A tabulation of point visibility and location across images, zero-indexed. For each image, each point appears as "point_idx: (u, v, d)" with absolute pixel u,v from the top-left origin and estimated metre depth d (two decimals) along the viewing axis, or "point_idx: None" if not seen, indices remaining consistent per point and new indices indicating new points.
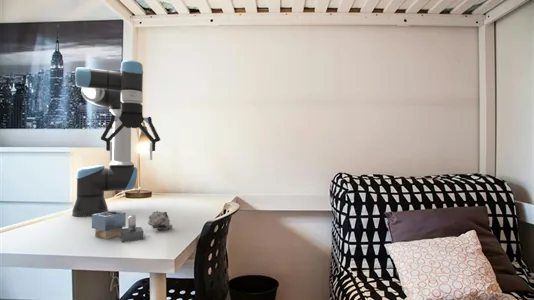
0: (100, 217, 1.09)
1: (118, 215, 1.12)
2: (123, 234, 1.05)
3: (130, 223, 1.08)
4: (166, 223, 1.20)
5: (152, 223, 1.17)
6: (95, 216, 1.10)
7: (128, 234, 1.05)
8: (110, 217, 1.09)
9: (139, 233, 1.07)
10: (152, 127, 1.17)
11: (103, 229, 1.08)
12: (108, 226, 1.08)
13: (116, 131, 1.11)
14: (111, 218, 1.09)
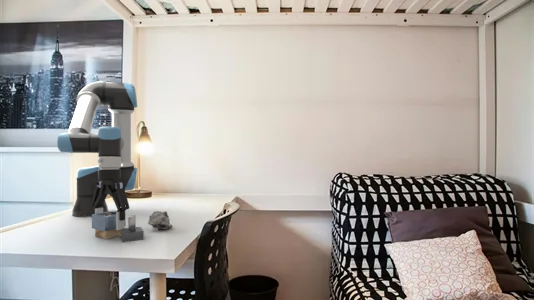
0: (100, 217, 1.09)
1: None
2: (123, 234, 1.05)
3: (130, 223, 1.08)
4: (166, 223, 1.20)
5: (152, 223, 1.18)
6: (95, 216, 1.10)
7: (128, 234, 1.05)
8: (110, 217, 1.09)
9: (139, 233, 1.07)
10: (118, 194, 1.08)
11: (103, 229, 1.08)
12: (108, 226, 1.08)
13: (98, 198, 1.14)
14: (111, 218, 1.09)
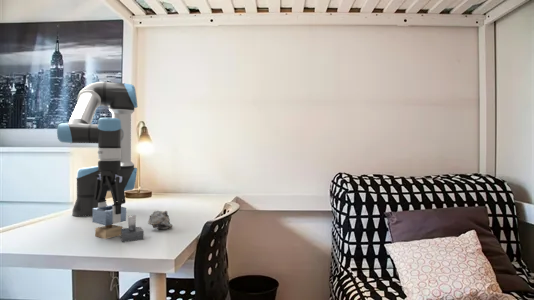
0: (101, 212, 1.09)
1: None
2: (123, 234, 1.05)
3: (130, 223, 1.08)
4: (166, 223, 1.20)
5: (152, 222, 1.18)
6: (96, 210, 1.11)
7: (128, 234, 1.05)
8: (111, 212, 1.09)
9: (139, 233, 1.07)
10: (116, 188, 1.09)
11: (104, 224, 1.08)
12: (109, 221, 1.09)
13: (100, 191, 1.14)
14: None
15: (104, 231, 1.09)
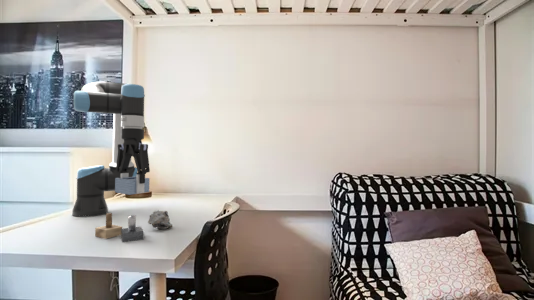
0: (124, 180, 1.05)
1: None
2: (123, 234, 1.05)
3: (130, 223, 1.08)
4: (166, 222, 1.21)
5: (152, 222, 1.18)
6: (119, 180, 1.07)
7: (128, 234, 1.05)
8: (134, 181, 1.05)
9: (139, 233, 1.07)
10: (141, 156, 1.05)
11: (127, 193, 1.04)
12: (132, 190, 1.05)
13: (122, 160, 1.10)
14: (135, 182, 1.06)
15: (104, 231, 1.09)
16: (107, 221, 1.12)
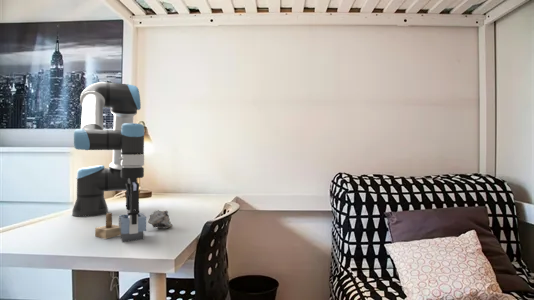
0: (120, 219, 1.06)
1: None
2: (123, 234, 1.05)
3: None
4: (166, 222, 1.21)
5: (152, 222, 1.19)
6: (119, 217, 1.09)
7: (128, 234, 1.05)
8: (127, 220, 1.05)
9: (139, 233, 1.07)
10: (130, 196, 1.03)
11: (120, 232, 1.04)
12: (125, 229, 1.04)
13: (127, 198, 1.12)
14: None
15: (104, 231, 1.09)
16: (107, 221, 1.12)
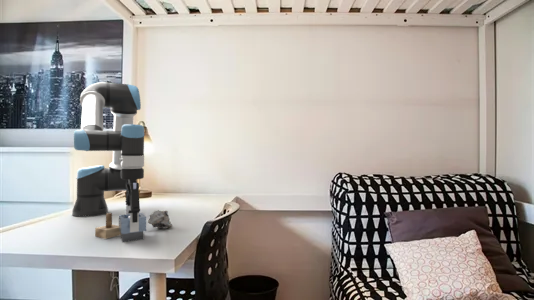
0: (120, 219, 1.06)
1: None
2: (123, 234, 1.05)
3: None
4: (166, 222, 1.21)
5: (152, 222, 1.19)
6: (119, 217, 1.09)
7: (128, 234, 1.05)
8: (127, 220, 1.05)
9: (139, 233, 1.07)
10: (131, 195, 1.02)
11: (120, 232, 1.04)
12: (125, 229, 1.04)
13: (127, 196, 1.13)
14: (129, 221, 1.05)
15: (104, 231, 1.09)
16: (107, 221, 1.12)
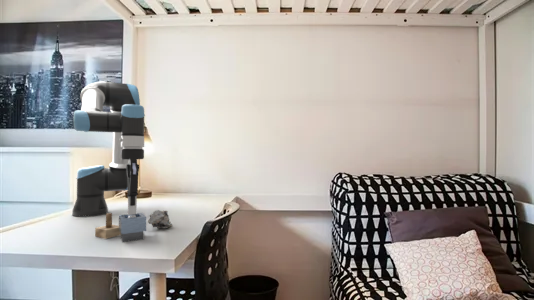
0: (120, 219, 1.06)
1: (137, 218, 1.06)
2: (123, 234, 1.05)
3: None
4: (165, 222, 1.21)
5: (151, 222, 1.19)
6: (119, 217, 1.09)
7: (128, 234, 1.05)
8: (127, 220, 1.05)
9: (139, 233, 1.07)
10: (130, 179, 1.05)
11: (120, 232, 1.04)
12: (125, 229, 1.04)
13: (128, 182, 1.10)
14: (129, 221, 1.05)
15: (104, 231, 1.09)
16: (107, 221, 1.12)
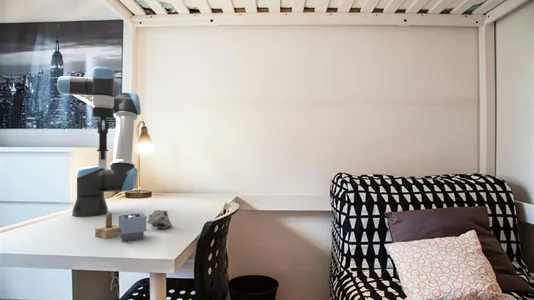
0: (120, 219, 1.06)
1: (137, 218, 1.06)
2: (123, 234, 1.05)
3: None
4: (165, 222, 1.21)
5: (151, 221, 1.19)
6: (119, 217, 1.09)
7: (128, 234, 1.05)
8: (127, 220, 1.05)
9: (139, 233, 1.07)
10: (99, 134, 1.15)
11: (120, 232, 1.04)
12: (125, 229, 1.04)
13: None
14: (129, 221, 1.05)
15: (104, 231, 1.09)
16: (107, 221, 1.12)
